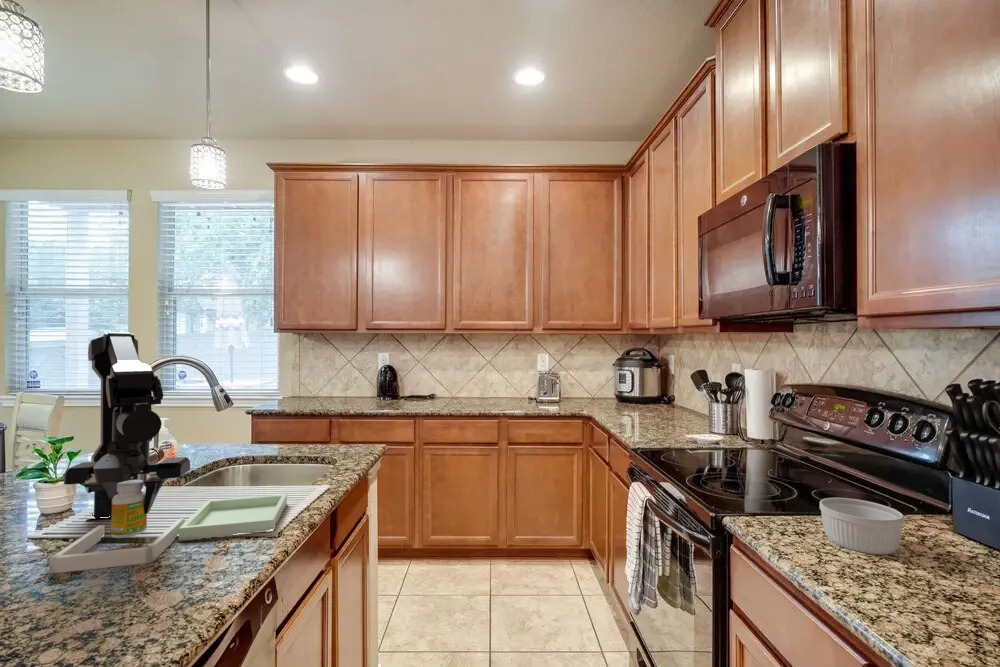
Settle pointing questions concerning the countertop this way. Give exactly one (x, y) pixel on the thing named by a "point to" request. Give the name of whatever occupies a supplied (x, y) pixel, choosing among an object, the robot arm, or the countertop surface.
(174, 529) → the bay
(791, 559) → the countertop surface
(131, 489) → the supplement bottle
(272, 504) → the tray
